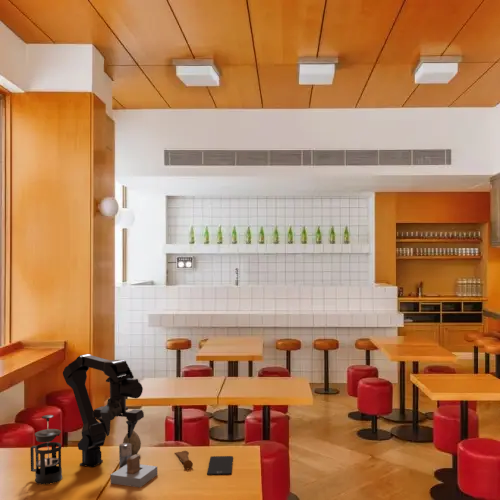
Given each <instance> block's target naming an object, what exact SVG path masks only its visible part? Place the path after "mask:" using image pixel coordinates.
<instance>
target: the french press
mask: <svg viewBox="0 0 500 500" xmlns="http://www.w3.org/2000/svg"><path fill="white" fill-rule="evenodd" d="M54 417H55V416H54V415H53V414H46V415H45V414H44V415H42V416H41V419H46V422H47V424H46V425H47V427H46V428H47V429H42V430H39V431H37V432H34V436H35V440H36V441H37V442H38V443H40V444H37V445H32V446H31V447H30V450H29V451H30V472H31V473H32V472H33V473H35V475H34V476H35V478H34V482H35V483H36V484H37V485H42V484H45V485H51V484H50V483H52V484H56V483H58V482H60V481H61V480H62V479H63V475H62V474H63V472H62V471H63V470H62V443H60V442H56V441H54V440H55V439H56V437H59V436H60V435H61V433H62V430H60V429H56V428H49V421H50V419H53V418H54ZM45 447H47V449H43V450H42V449H41V448H45ZM50 447H51V449H50ZM34 453H35V457H34ZM50 454H51V457H50ZM57 454H58V455H57ZM46 455H47V457H46ZM57 456H58V457H57ZM34 458H35V459H34ZM34 460H35V461H34ZM55 482H56V483H55Z"/></svg>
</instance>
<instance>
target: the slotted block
mask: <svg viewBox="0 0 500 500" xmlns="http://www.w3.org/2000/svg"><path fill="white" fill-rule="evenodd" d="M157 476H158V466H157V465H156V466H155V465H148V464H141V463H140V470H139V471H138V472H137V473H135V474H127V464H126V465H125V466H123V467H122V468H120V467H119V469H117V470H116V471H114V472H112V473H111V474H110V484H113V485H120V486H121V485H122V486H128V487H135V488H142V487H143V486H144V485H146V484H147V483H148V482H149V481H151V480H152V479H154V478H155V477H157Z"/></svg>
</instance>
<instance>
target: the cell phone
mask: <svg viewBox="0 0 500 500" xmlns="http://www.w3.org/2000/svg"><path fill="white" fill-rule="evenodd" d="M232 462H234V456H232V455H221V456H219V455H216V456H215V455H214V456H210V458H209V462H208V468H207V471H206V475H207V476H231V475H232V471H233V463H232Z"/></svg>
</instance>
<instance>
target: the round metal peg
mask: <svg viewBox="0 0 500 500" xmlns="http://www.w3.org/2000/svg"><path fill="white" fill-rule="evenodd" d="M118 447H119V448H118V449H119V451H118V452H119V453H118V455H119V469H120V468H122V467H123V466H125V465H126V464H127V459H128V458H130V457H131V456H132V455H131V444H130V443H123V442H122V443H120V444H119V445H118Z"/></svg>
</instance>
